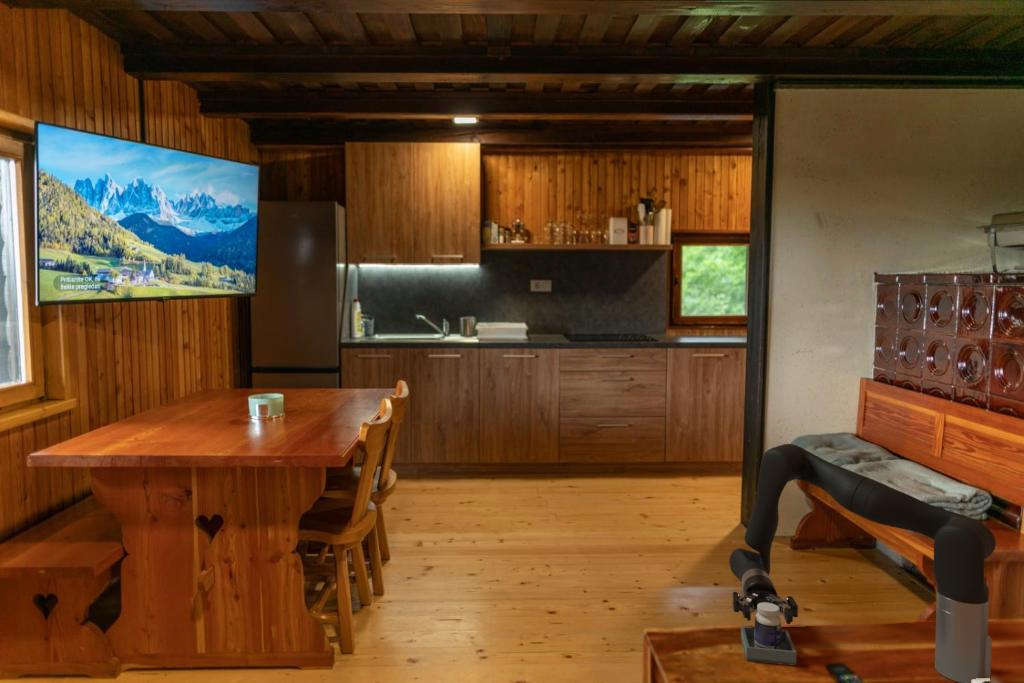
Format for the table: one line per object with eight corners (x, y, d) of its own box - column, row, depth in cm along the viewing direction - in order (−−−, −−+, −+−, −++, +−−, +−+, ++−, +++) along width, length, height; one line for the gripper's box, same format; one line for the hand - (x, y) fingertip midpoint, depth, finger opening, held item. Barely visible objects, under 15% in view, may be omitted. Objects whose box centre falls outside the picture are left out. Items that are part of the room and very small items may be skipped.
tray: (787, 642, 160) (787, 630, 160) (796, 665, 150) (796, 652, 150) (741, 638, 162) (741, 626, 162) (746, 660, 152) (746, 647, 152)
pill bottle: (782, 656, 153) (783, 613, 152) (755, 653, 154) (756, 611, 153) (778, 643, 158) (779, 601, 158) (752, 640, 159) (753, 599, 159)
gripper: (729, 572, 171) (736, 599, 155) (789, 576, 168) (802, 604, 152) (728, 601, 172) (735, 631, 156) (788, 606, 169) (802, 637, 153)
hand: (768, 618), depth 154 cm, fingers open, 8 cm apart
